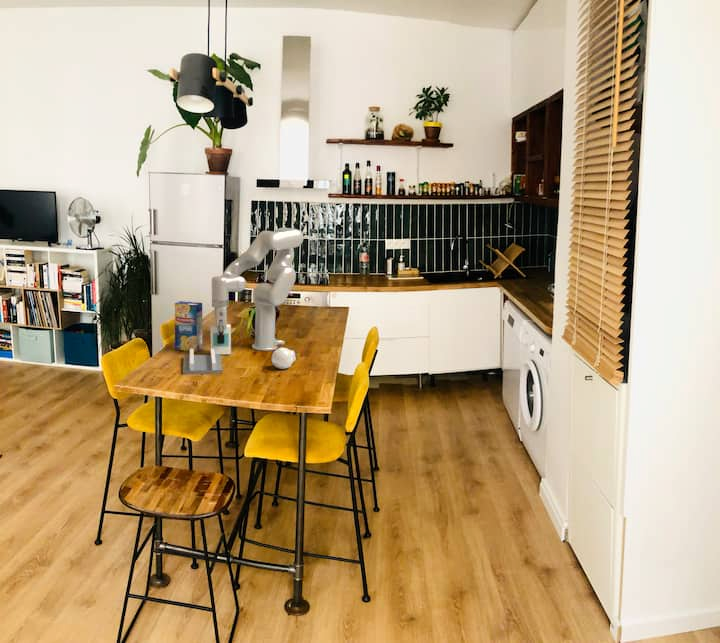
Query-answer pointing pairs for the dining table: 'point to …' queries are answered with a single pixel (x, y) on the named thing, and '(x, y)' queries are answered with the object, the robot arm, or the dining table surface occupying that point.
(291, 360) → the white rounded lump
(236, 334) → the dining table surface
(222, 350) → the carton
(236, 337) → the dining table surface
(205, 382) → the dining table surface
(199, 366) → the grey slotted holder base
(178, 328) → the blue food box
